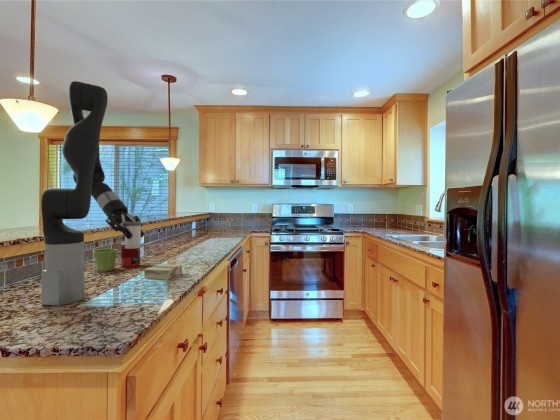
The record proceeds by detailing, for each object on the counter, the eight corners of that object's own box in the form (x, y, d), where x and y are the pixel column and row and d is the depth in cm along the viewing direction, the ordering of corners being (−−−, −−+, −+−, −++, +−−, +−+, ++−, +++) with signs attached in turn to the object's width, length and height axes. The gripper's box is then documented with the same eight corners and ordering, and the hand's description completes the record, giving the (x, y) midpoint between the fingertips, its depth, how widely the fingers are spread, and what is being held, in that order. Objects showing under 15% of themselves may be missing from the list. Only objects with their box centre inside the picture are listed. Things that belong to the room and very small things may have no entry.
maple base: (167, 279, 107) (167, 270, 107) (144, 278, 109) (144, 269, 109) (181, 273, 117) (181, 265, 116) (160, 272, 118) (160, 263, 118)
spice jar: (134, 248, 105) (134, 222, 105) (121, 248, 106) (121, 221, 106) (144, 246, 110) (144, 221, 110) (131, 246, 111) (131, 221, 111)
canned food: (134, 268, 125) (134, 243, 125) (117, 268, 126) (116, 243, 125) (143, 264, 133) (143, 241, 133) (126, 264, 133) (126, 241, 133)
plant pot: (96, 268, 125) (96, 249, 124) (120, 267, 127) (120, 248, 127) (89, 273, 116) (89, 252, 115) (115, 272, 118) (114, 251, 118)
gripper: (101, 198, 103) (127, 231, 100) (131, 199, 117) (155, 228, 114) (90, 212, 105) (115, 245, 101) (121, 212, 118) (145, 241, 115)
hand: (136, 236), depth 108 cm, fingers closed on spice jar, 5 cm apart
